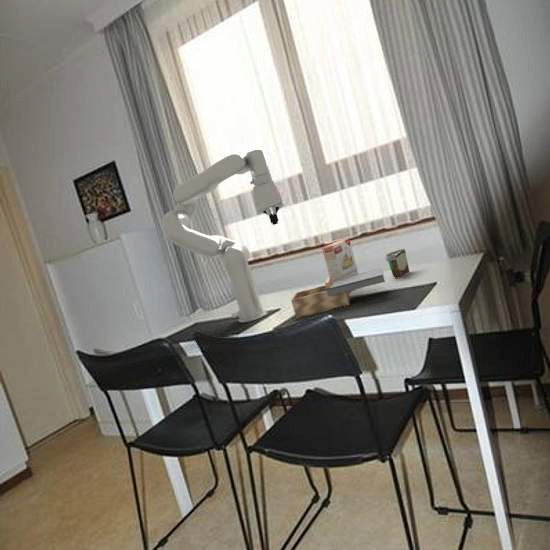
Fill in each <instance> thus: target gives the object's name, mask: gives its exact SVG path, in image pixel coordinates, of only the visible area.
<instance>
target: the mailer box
mask: <svg viewBox="0 0 550 550" xmlns="http://www.w3.org/2000/svg"><path fill="white" fill-rule="evenodd" d="M326 289H327V288H326V285H325V284H324V285H321V286H318V287H313V288H310V289H305V290H301V291H298V292H295V294H294V295H293V297H292V298H291V300H290V301H291V304H292V308H293V311H294V312H293V313H294V314H295V318H296V319H299V318H302V317H305V316H306V317H307V316H310V315H315V314H319V313H322V312H327V311H331V310H334V309H333V308H336V309H338V308H337V307H340V308H342V307H341V306H344V307H346V306H345V305H348V306H350V302H349V300H350V301H351V295H350V293H349V291H346V292H342V293H338V294H334V295H330V296H328V294H327V290H326ZM330 309H331V310H330Z"/></svg>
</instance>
